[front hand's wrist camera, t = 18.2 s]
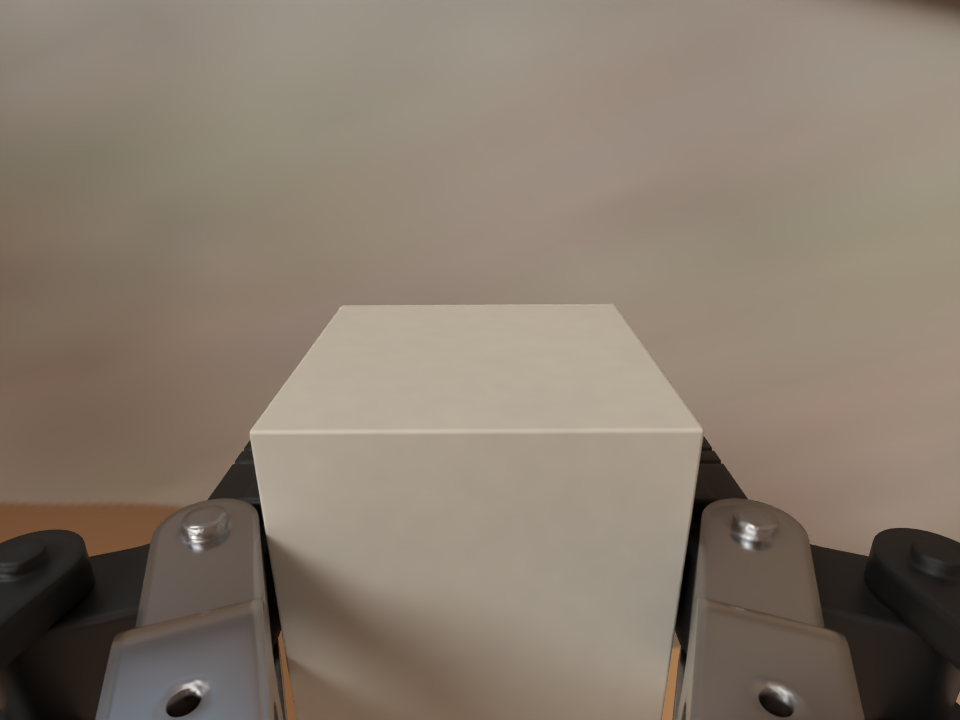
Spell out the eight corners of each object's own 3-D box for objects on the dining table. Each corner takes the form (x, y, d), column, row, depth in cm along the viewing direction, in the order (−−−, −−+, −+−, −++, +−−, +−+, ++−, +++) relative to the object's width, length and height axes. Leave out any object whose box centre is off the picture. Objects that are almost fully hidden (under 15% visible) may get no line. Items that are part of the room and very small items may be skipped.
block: (340, 304, 11) (246, 431, 7) (615, 303, 11) (706, 429, 7) (361, 530, 13) (299, 749, 9) (597, 530, 13) (659, 748, 9)
